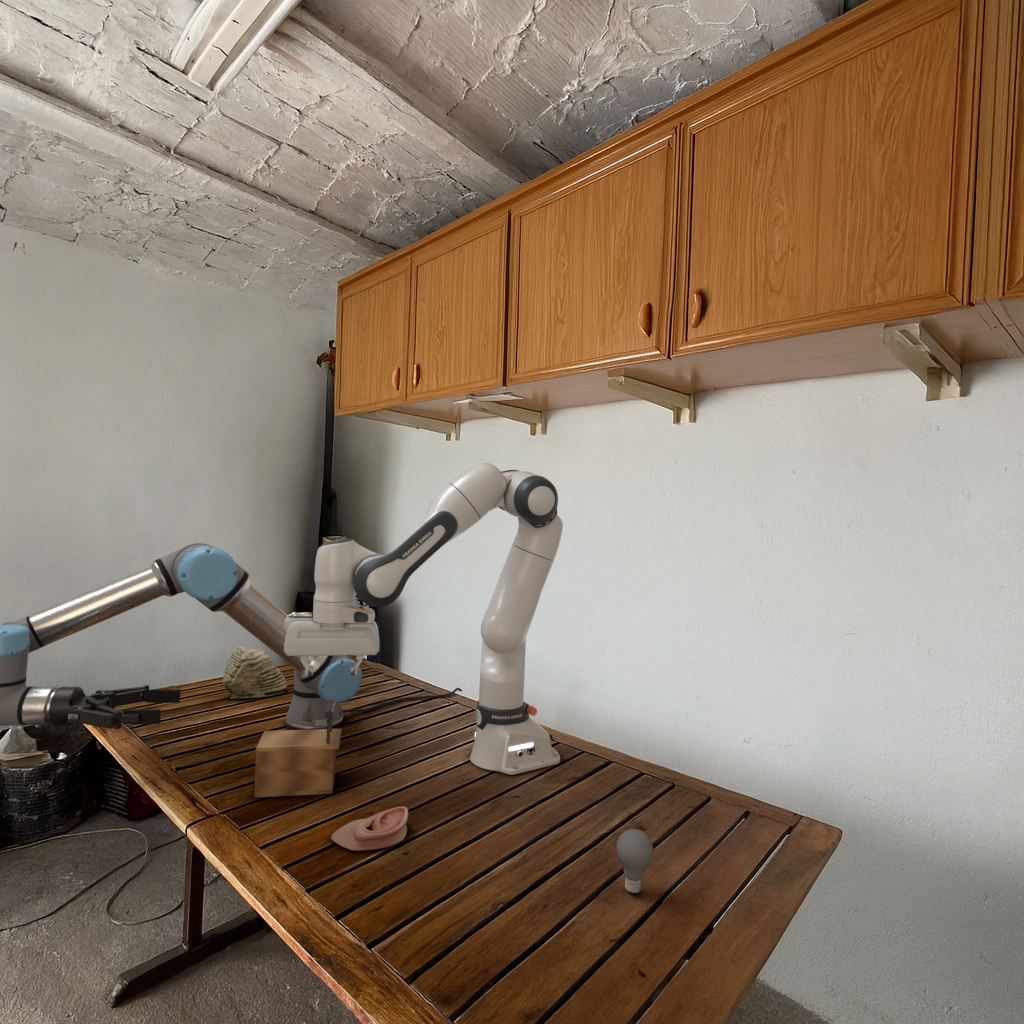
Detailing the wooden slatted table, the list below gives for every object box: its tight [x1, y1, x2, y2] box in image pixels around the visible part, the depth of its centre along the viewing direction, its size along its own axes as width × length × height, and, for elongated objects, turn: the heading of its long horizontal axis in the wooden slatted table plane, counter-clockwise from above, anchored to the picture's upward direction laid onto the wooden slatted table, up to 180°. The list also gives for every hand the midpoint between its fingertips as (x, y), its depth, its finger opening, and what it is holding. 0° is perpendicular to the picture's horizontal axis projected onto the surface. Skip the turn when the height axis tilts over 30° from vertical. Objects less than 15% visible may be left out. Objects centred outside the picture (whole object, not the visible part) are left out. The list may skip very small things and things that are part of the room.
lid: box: [255, 699, 342, 753], centre depth 138 cm, size 17×10×8 cm, turn 102°
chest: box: [253, 749, 337, 798], centre depth 138 cm, size 16×10×10 cm, turn 102°
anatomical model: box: [330, 805, 409, 852], centre depth 119 cm, size 13×4×12 cm
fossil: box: [222, 646, 288, 699], centre depth 198 cm, size 9×18×15 cm, turn 132°
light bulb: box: [615, 828, 654, 894], centre depth 106 cm, size 6×6×10 cm
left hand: (170, 705), depth 133 cm, fingers open, 13 cm apart
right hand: (331, 675), depth 139 cm, fingers open, 8 cm apart
